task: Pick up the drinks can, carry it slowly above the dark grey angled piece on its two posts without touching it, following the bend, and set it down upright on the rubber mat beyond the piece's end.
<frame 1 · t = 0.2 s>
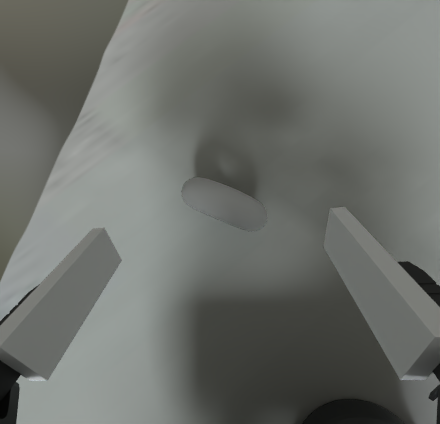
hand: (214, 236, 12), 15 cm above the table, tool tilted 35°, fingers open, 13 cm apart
donut: (227, 208, 28), on the table
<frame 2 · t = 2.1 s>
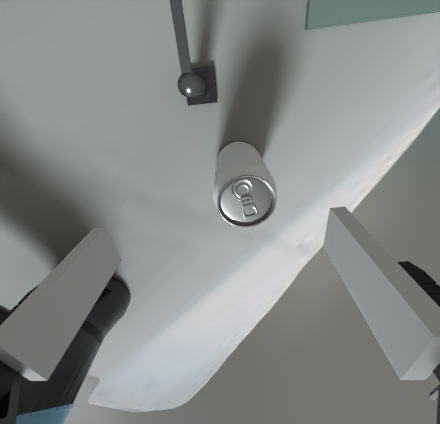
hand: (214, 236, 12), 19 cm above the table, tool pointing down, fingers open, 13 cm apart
can: (238, 163, 30), on the table
dark grey angled piece: (230, 28, 22), on the table
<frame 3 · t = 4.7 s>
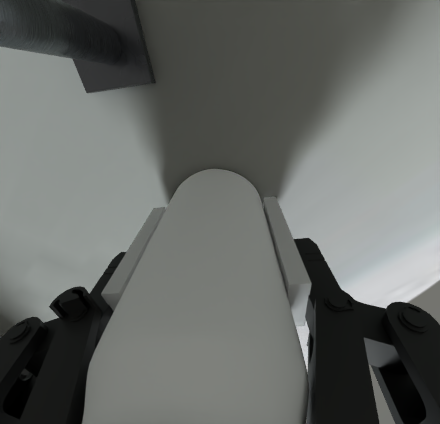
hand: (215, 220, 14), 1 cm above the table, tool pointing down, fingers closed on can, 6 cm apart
can: (217, 207, 15), on the table, touching gripper
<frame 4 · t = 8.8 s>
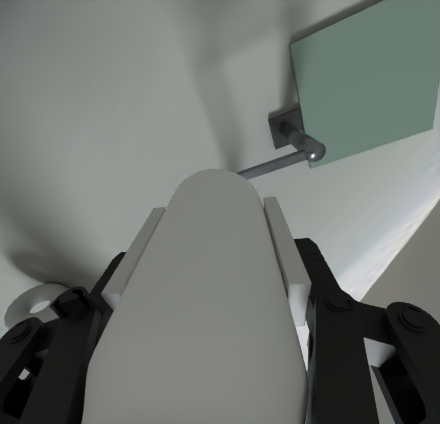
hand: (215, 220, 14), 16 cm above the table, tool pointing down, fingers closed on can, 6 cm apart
can: (217, 207, 15), point 14 cm above the table, touching gripper
dark grey angled piece: (251, 179, 29), on the table
mat: (364, 89, 23), on the table
donut: (59, 284, 44), on the table
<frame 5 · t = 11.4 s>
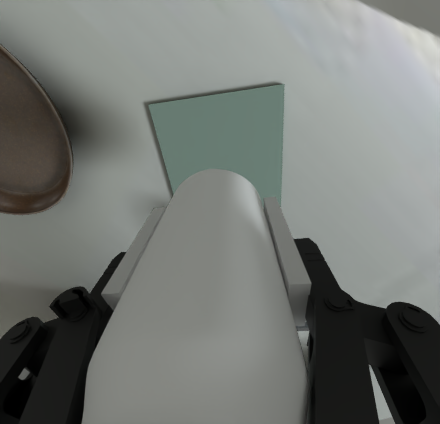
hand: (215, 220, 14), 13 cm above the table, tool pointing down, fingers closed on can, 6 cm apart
can: (217, 207, 15), point 11 cm above the table, touching gripper
mat: (222, 160, 25), on the table
plant saucer: (0, 126, 24), on the table
when the fingers open (3 cm above the table, at t = 13.3 s): can drops 1 cm, resting on mat.
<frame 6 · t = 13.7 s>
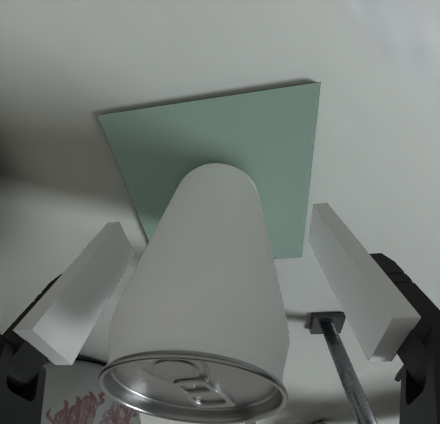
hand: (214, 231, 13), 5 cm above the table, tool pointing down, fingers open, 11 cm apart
can: (218, 199, 16), resting on mat
dark grey angled piece: (286, 303, 24), on the table
chamber pot: (91, 374, 38), on the table
mat: (218, 195, 17), on the table
donut: (317, 421, 47), on the table
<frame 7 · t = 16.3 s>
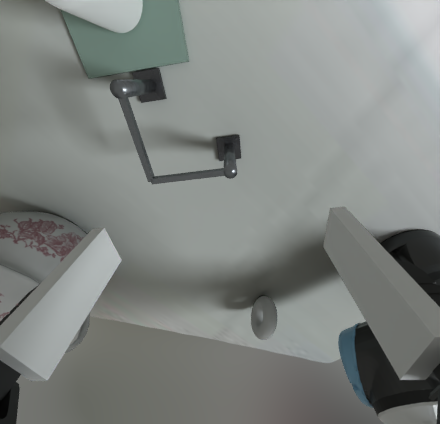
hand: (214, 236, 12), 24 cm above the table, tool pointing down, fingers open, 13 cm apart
dark grey angled piece: (194, 126, 31), on the table
chamber pot: (60, 241, 46), on the table
donut: (260, 298, 56), on the table
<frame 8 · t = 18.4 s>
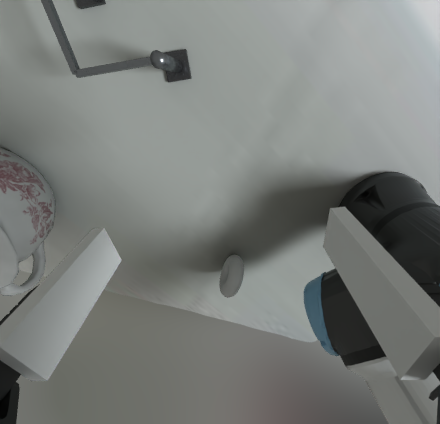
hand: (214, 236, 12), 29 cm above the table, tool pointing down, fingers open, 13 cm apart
dark grey angled piece: (138, 39, 30), on the table
chamber pot: (17, 186, 44), on the table
donut: (231, 259, 53), on the table
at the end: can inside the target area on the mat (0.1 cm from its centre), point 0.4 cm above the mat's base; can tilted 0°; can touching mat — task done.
